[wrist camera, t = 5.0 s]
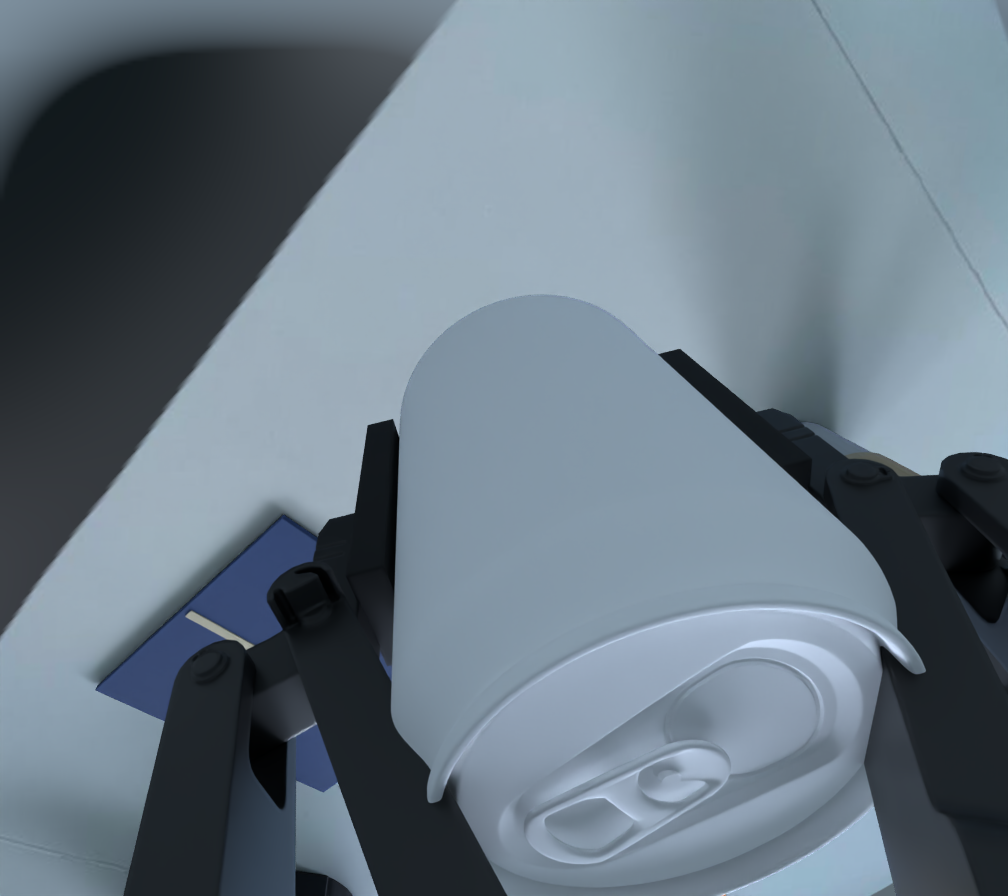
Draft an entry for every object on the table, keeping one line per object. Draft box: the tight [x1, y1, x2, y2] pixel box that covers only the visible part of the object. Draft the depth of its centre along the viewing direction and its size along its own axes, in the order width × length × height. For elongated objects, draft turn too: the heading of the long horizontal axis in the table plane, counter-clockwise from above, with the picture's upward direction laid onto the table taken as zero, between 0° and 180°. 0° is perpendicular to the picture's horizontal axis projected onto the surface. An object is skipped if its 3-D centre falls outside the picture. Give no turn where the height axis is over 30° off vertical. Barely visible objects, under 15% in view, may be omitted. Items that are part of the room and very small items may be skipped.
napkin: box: [95, 515, 392, 792], centre depth 38 cm, size 18×18×1 cm
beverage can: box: [391, 295, 926, 896], centre depth 13 cm, size 8×8×12 cm
